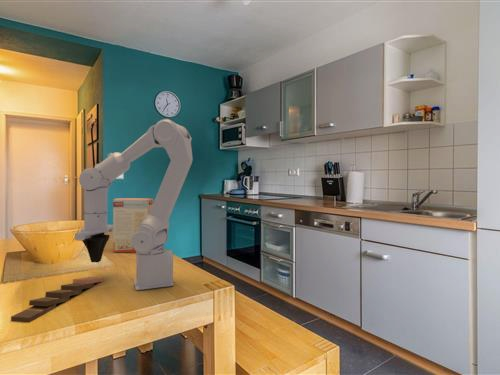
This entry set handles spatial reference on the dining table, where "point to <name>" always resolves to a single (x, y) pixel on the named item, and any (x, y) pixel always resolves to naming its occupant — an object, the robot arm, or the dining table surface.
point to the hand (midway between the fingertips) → (95, 261)
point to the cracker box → (128, 221)
